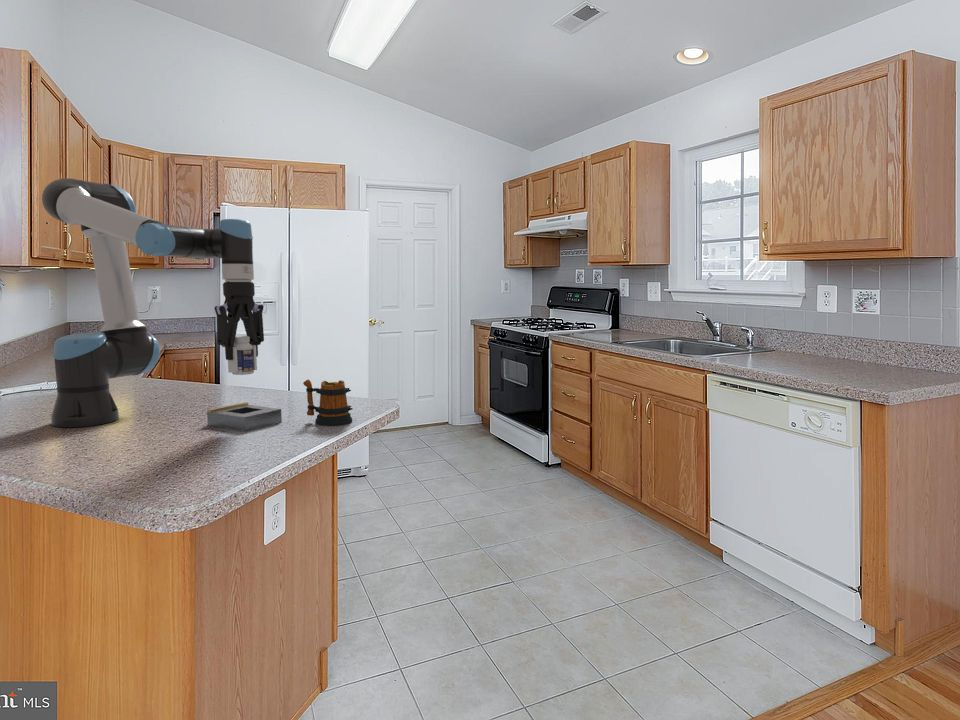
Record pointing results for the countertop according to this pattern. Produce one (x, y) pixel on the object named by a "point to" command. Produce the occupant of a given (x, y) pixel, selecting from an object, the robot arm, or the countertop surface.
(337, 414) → the mug
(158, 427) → the countertop surface
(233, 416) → the jig
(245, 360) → the pill bottle
